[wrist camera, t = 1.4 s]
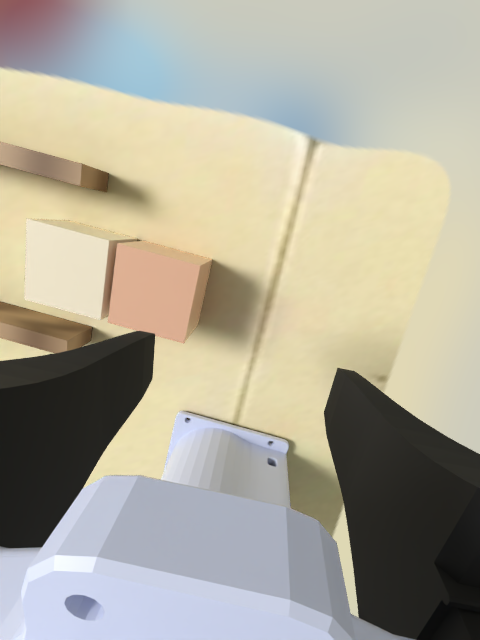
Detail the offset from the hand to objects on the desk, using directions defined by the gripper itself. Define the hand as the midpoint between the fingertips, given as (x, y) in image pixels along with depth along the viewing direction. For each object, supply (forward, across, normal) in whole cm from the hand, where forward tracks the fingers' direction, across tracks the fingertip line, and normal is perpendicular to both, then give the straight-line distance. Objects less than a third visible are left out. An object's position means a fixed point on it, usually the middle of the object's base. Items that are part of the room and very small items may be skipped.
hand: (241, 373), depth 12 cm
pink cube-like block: (+11, +6, 0) cm, 12 cm away
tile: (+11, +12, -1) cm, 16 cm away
